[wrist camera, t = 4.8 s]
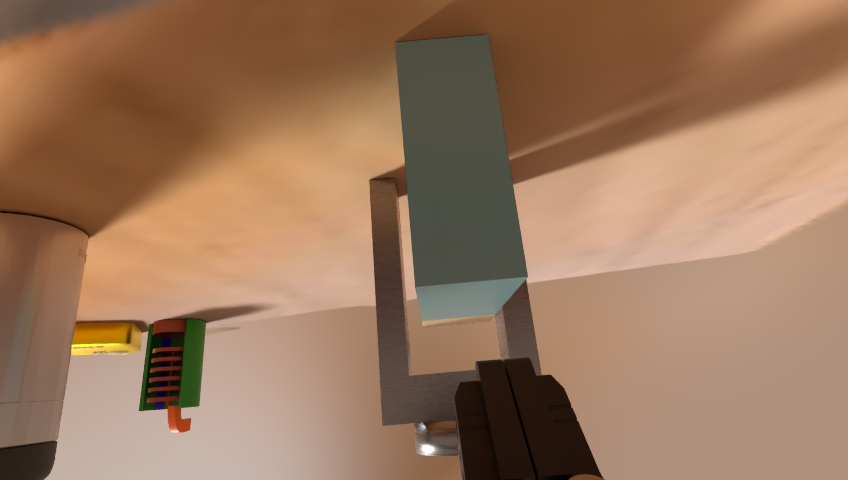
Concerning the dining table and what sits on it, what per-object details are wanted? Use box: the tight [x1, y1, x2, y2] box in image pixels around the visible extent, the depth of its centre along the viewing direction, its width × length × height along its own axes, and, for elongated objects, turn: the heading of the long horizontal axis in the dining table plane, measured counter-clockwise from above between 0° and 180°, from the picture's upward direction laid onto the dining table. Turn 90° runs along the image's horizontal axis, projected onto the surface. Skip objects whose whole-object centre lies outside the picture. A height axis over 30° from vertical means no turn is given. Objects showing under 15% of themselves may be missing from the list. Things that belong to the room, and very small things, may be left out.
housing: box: [369, 178, 541, 456], centre depth 34 cm, size 7×11×20 cm, turn 91°
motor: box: [139, 319, 206, 433], centre depth 84 cm, size 10×9×20 cm
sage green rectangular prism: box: [395, 34, 528, 327], centre depth 26 cm, size 13×4×12 cm, turn 1°
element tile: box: [71, 323, 142, 355], centre depth 85 cm, size 15×15×5 cm
